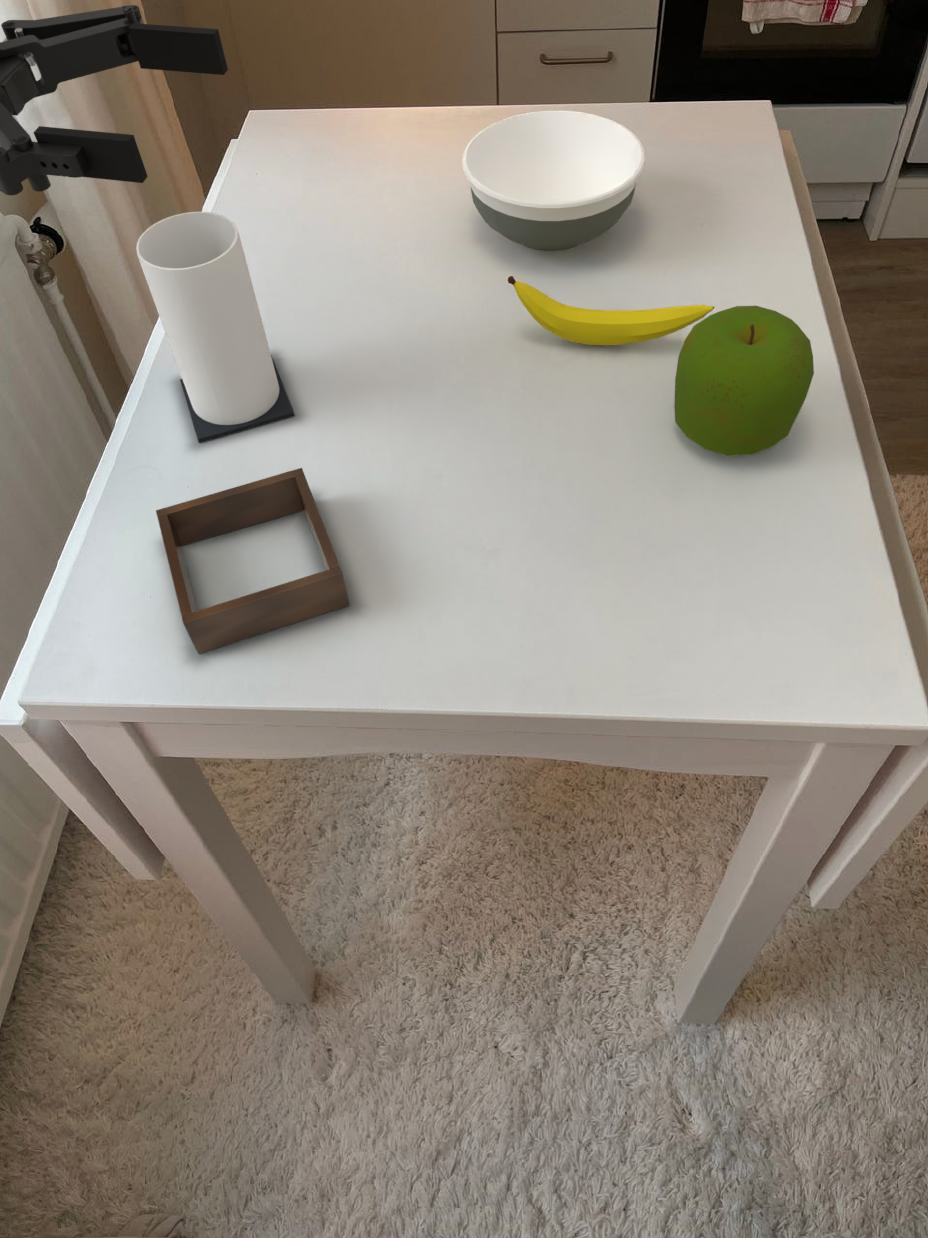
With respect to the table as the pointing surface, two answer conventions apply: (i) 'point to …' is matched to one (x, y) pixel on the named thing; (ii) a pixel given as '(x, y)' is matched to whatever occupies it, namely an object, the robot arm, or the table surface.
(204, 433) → the pad
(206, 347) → the cup
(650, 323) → the banana
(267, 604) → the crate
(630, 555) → the table surface
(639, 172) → the bowl
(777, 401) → the apple
